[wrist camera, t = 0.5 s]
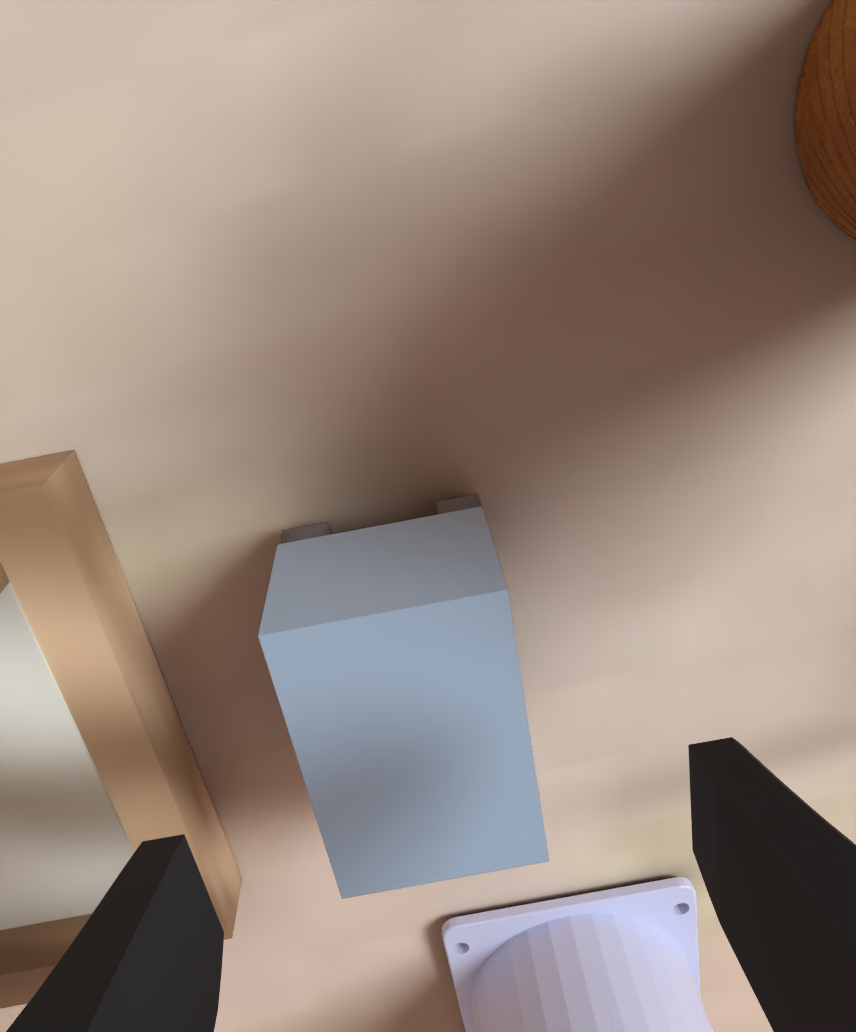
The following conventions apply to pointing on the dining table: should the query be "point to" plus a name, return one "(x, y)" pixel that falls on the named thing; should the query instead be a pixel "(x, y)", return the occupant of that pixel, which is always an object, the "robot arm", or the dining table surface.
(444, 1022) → the dining table surface
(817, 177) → the disposable coffee cup
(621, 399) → the dining table surface
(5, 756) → the dock
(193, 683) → the dining table surface
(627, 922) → the robot arm
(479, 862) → the blue block with feet
